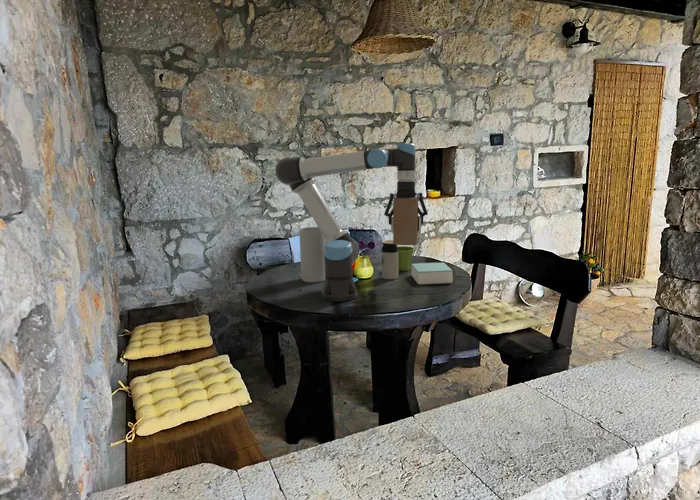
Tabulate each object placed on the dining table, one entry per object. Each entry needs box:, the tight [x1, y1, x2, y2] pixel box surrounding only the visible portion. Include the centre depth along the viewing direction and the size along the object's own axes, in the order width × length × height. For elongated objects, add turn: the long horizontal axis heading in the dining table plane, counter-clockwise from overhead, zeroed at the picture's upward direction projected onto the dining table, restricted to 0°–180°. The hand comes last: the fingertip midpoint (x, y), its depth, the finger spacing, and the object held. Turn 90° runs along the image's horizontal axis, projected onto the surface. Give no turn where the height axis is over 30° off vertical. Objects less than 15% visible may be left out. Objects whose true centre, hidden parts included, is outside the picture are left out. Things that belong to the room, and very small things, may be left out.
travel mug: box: [381, 239, 399, 280], centre depth 228 cm, size 8×8×18 cm
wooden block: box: [392, 196, 419, 246], centre depth 202 cm, size 10×10×20 cm
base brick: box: [411, 262, 454, 285], centre depth 224 cm, size 16×16×6 cm
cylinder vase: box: [298, 226, 326, 284], centre depth 227 cm, size 12×12×25 cm
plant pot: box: [397, 245, 415, 272], centre depth 244 cm, size 12×12×11 cm
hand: (405, 231), depth 203 cm, fingers closed on wooden block, 11 cm apart
